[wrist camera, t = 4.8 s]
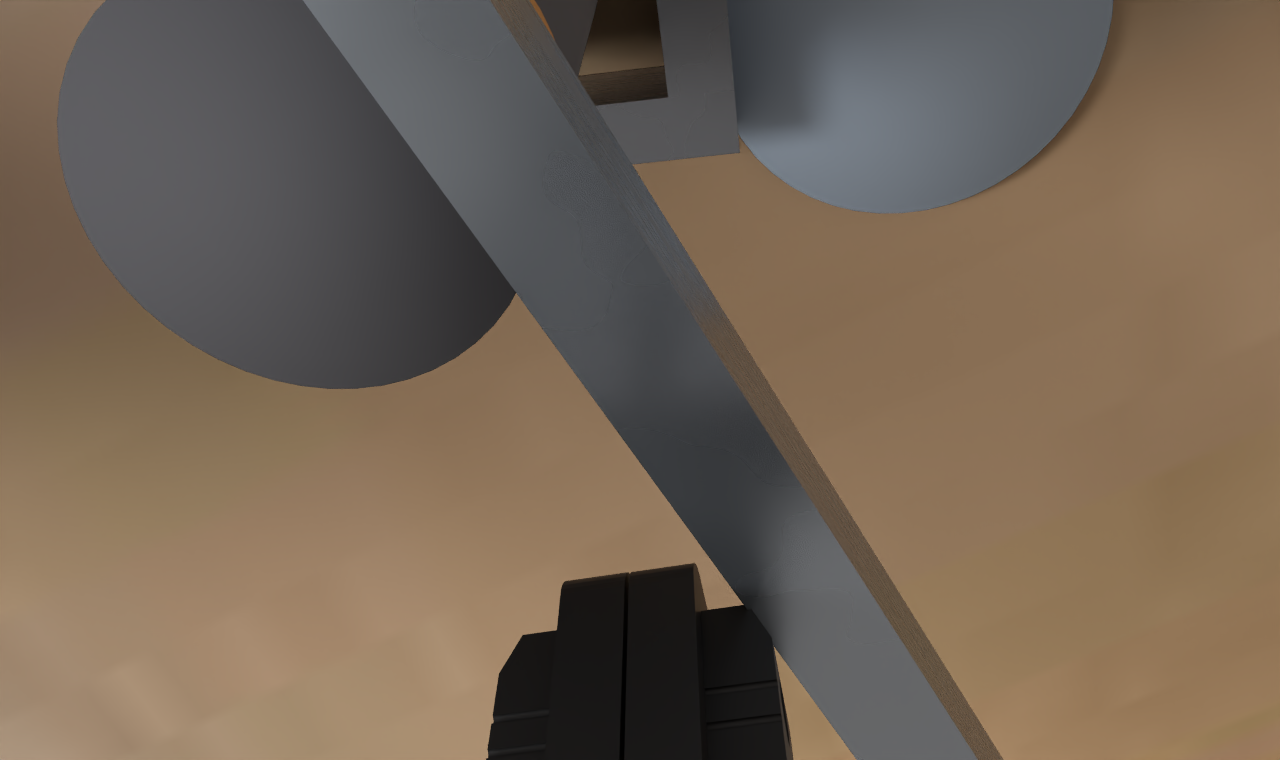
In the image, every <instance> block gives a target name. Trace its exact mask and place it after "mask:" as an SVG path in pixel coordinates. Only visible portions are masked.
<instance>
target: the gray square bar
mask: <svg viewBox="0 0 1280 760" xmlns="http://www.w3.org/2000/svg"><path fill="white" fill-rule="evenodd" d="M303 1H304V2H305V4H306V5H307V7H308V8H309V9H310V11H311V12H312V13H313V15H314V16H315V18H316V19H317V20H318V22H319V23H320V24H321V26H322V27H323V29H324V30H325V31H326V33H327V34H328V35H329V37H330V38H331V40H332V41H333V42H334V44H335V45H336V46H337V48H338V49H339V50H340V52H341V53H342V55H343V56H344V57H345V59H346V60H347V61H348V63H349V64H350V66H351V67H352V68H353V70H354V71H355V72H356V74H357V75H358V77H359V78H360V79H361V81H362V82H363V83H364V85H365V86H366V87H367V89H368V90H369V92H370V93H371V94H372V96H373V97H374V98H375V100H376V101H377V103H378V104H379V105H380V107H381V108H382V109H383V111H384V112H385V114H386V115H387V116H388V118H389V119H390V120H391V122H392V123H393V125H394V126H395V127H396V129H397V130H398V131H399V133H400V134H401V135H402V137H403V138H404V140H405V141H406V142H407V144H408V145H409V146H410V148H411V149H412V151H413V152H414V153H415V155H416V156H417V157H418V159H419V160H420V162H421V163H422V164H423V166H424V167H425V168H426V170H427V171H428V173H429V174H430V175H431V177H432V178H433V179H434V181H435V182H436V183H437V185H438V186H439V188H440V189H441V190H442V192H443V193H444V194H445V196H446V197H447V199H448V200H449V201H450V203H451V204H452V205H453V207H454V208H455V210H456V211H457V212H458V214H459V215H460V216H461V218H462V219H463V220H464V222H465V223H466V225H467V226H468V227H469V229H470V230H471V231H472V233H473V234H474V236H475V237H476V238H477V240H478V241H479V242H480V244H481V245H482V247H483V248H484V249H485V251H486V252H487V253H488V255H489V256H490V258H491V259H492V260H493V262H494V263H495V264H496V266H497V267H498V268H499V270H500V271H501V273H502V274H503V275H504V277H505V278H506V279H507V281H508V282H509V284H510V285H511V286H512V288H513V289H514V290H515V292H516V293H517V295H518V296H519V297H520V299H521V300H522V301H523V303H524V304H525V305H526V307H527V308H528V310H529V311H530V312H531V314H532V315H533V316H534V318H535V319H536V321H537V322H538V323H539V325H540V326H541V327H542V329H543V330H544V332H545V333H546V334H547V336H548V337H549V338H550V340H551V341H552V343H553V344H554V345H555V347H556V348H557V349H558V351H559V352H560V353H561V355H562V356H563V358H564V359H565V360H566V362H567V363H568V364H569V366H570V367H571V369H572V370H573V371H574V373H575V374H576V375H577V377H578V378H579V380H580V381H581V382H582V384H583V385H584V386H585V388H586V389H587V390H588V392H589V393H590V395H591V396H592V397H593V399H594V400H595V401H596V403H597V404H598V406H599V407H600V408H601V410H602V411H603V412H604V414H605V415H606V417H607V418H608V419H609V421H610V422H611V423H612V425H613V426H614V428H615V429H616V430H617V432H618V433H619V434H620V436H621V437H622V438H623V440H624V441H625V443H626V444H627V445H628V447H629V448H630V449H631V451H632V452H633V454H634V455H635V456H636V458H637V459H638V460H639V462H640V463H641V465H642V466H643V467H644V469H645V470H646V471H647V473H648V474H649V475H650V477H651V478H652V480H653V481H654V482H655V484H656V485H657V486H658V488H659V489H660V491H661V492H662V493H663V495H664V496H665V497H666V499H667V500H668V502H669V503H670V504H671V506H672V507H673V508H674V510H675V511H676V513H677V514H678V515H679V517H680V518H681V519H682V521H683V522H684V523H685V525H686V526H687V528H688V529H689V530H690V532H691V533H692V534H693V536H694V537H695V539H696V540H697V541H698V543H699V544H700V545H701V547H702V548H703V550H704V551H705V552H706V554H707V555H708V556H709V558H710V559H711V560H712V562H713V563H714V565H715V566H716V567H717V569H718V570H719V571H720V573H721V574H722V576H723V577H724V578H725V580H726V581H727V582H728V584H729V585H730V587H731V588H732V589H733V591H734V592H735V593H736V595H737V596H738V598H739V599H740V600H741V602H742V603H743V604H744V606H745V607H746V608H747V609H752V610H753V612H754V613H755V615H756V616H757V617H758V619H759V620H760V622H761V623H762V624H763V626H764V627H765V629H766V630H767V631H768V633H769V634H770V636H771V637H772V641H773V645H774V647H775V648H776V650H777V651H778V652H779V654H780V655H781V656H782V658H783V659H784V661H785V662H786V663H787V665H788V666H789V667H790V669H791V670H792V672H793V673H794V674H795V676H796V677H797V678H798V680H799V681H800V683H801V684H802V685H803V687H804V688H805V689H806V691H807V692H808V693H809V695H810V696H811V698H812V699H813V700H814V702H815V703H816V704H817V706H818V707H819V709H820V710H821V711H822V713H823V714H824V715H825V717H826V718H827V720H828V721H829V722H830V724H831V725H832V726H833V728H834V729H835V730H836V732H837V733H838V735H839V736H840V737H841V739H842V740H843V741H844V743H845V744H846V746H847V747H848V748H849V750H850V751H851V752H852V754H853V755H854V757H855V758H856V759H857V760H1003V758H1002V757H1001V755H1000V754H999V752H998V750H997V749H996V747H995V746H994V744H993V742H992V741H991V739H990V738H989V736H988V734H987V733H986V731H985V730H984V728H983V726H982V725H981V723H980V722H979V720H978V718H977V717H976V715H975V714H974V712H973V710H972V709H971V707H970V706H969V704H968V702H967V701H966V699H965V697H964V696H963V694H962V693H961V691H960V689H959V688H958V686H957V685H956V683H955V681H954V680H953V678H952V677H951V675H950V673H949V672H948V670H947V669H946V667H945V665H944V664H943V662H942V661H941V659H940V657H939V656H938V654H937V653H936V651H935V649H934V648H933V646H932V645H931V643H930V641H929V640H928V638H927V637H926V635H925V633H924V632H923V630H922V629H921V627H920V625H919V624H918V622H917V621H916V619H915V617H914V616H913V614H912V613H911V611H910V609H909V608H908V606H907V605H906V603H905V601H904V600H903V598H902V597H901V595H900V593H899V592H898V590H897V589H896V587H895V585H894V584H893V582H892V580H891V579H890V577H889V576H888V574H887V572H886V571H885V569H884V568H883V566H882V564H881V563H880V561H879V560H878V558H877V556H876V555H875V553H874V552H873V550H872V548H871V547H870V545H869V544H868V542H867V540H866V539H865V537H864V536H863V534H862V532H861V531H860V529H859V528H858V526H857V524H856V523H855V521H854V520H853V518H852V516H851V515H850V513H849V512H848V510H847V508H846V507H845V505H844V504H843V502H842V500H841V499H840V497H839V496H838V494H837V492H836V491H835V489H834V488H833V486H832V484H831V483H830V481H829V480H828V478H827V476H826V475H825V473H824V472H823V470H822V468H821V467H820V465H819V464H818V462H817V460H816V459H815V457H814V455H813V454H812V452H811V451H810V449H809V447H808V446H807V444H806V443H805V441H804V439H803V438H802V436H801V435H800V433H799V431H798V430H797V428H796V427H795V425H794V423H793V422H792V420H791V419H790V417H789V415H788V414H787V412H786V411H785V409H784V407H783V406H782V404H781V403H780V401H779V399H778V398H777V396H776V395H775V393H774V391H773V390H772V388H771V387H770V385H769V383H768V382H767V380H766V379H765V377H764V375H763V374H762V372H761V371H760V369H759V367H758V366H757V364H756V363H755V361H754V359H753V358H752V356H751V355H750V353H749V351H748V350H747V348H746V347H745V345H744V343H743V342H742V340H741V338H740V337H739V335H738V334H737V332H736V330H735V329H734V327H733V326H732V324H731V322H730V321H729V319H728V318H727V316H726V314H725V313H724V311H723V310H722V308H721V306H720V305H719V303H718V302H717V300H716V298H715V297H714V295H713V294H712V292H711V290H710V289H709V287H708V286H707V284H706V282H705V281H704V279H703V278H702V276H701V274H700V273H699V271H698V270H697V268H696V266H695V265H694V263H693V262H692V260H691V258H690V257H689V255H688V254H687V252H686V250H685V249H684V247H683V246H682V244H681V242H680V241H679V239H678V238H677V236H676V234H675V233H674V231H673V230H672V228H671V226H670V225H669V223H668V221H667V220H666V218H665V217H664V215H663V213H662V212H661V210H660V209H659V207H658V205H657V204H656V202H655V201H654V199H653V197H652V196H651V194H650V193H649V191H648V189H647V188H646V186H645V185H644V183H643V181H642V180H641V178H640V177H639V175H638V173H637V172H636V170H635V169H634V167H633V165H632V164H631V162H630V161H629V159H628V157H627V156H626V154H625V153H624V151H623V149H622V148H621V146H620V145H619V143H618V141H617V140H616V138H615V137H614V135H613V133H612V132H611V130H610V129H609V127H608V125H607V124H606V122H605V121H604V119H603V117H602V116H601V114H600V113H599V111H598V109H597V108H596V106H595V104H594V103H593V101H592V100H591V98H590V96H589V95H588V93H587V92H586V90H585V88H584V87H583V85H582V84H581V82H580V80H579V79H578V77H577V76H576V74H575V72H574V71H573V69H572V68H571V66H570V64H569V63H568V61H567V60H566V58H565V56H564V55H563V53H562V52H561V50H560V48H559V47H558V45H557V44H556V42H555V40H554V39H553V37H552V36H551V34H550V32H549V31H548V29H547V28H546V26H545V24H544V23H543V21H542V20H541V18H540V16H539V15H538V13H537V12H536V10H535V8H534V7H533V5H532V4H531V2H530V0H303Z"/></svg>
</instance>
